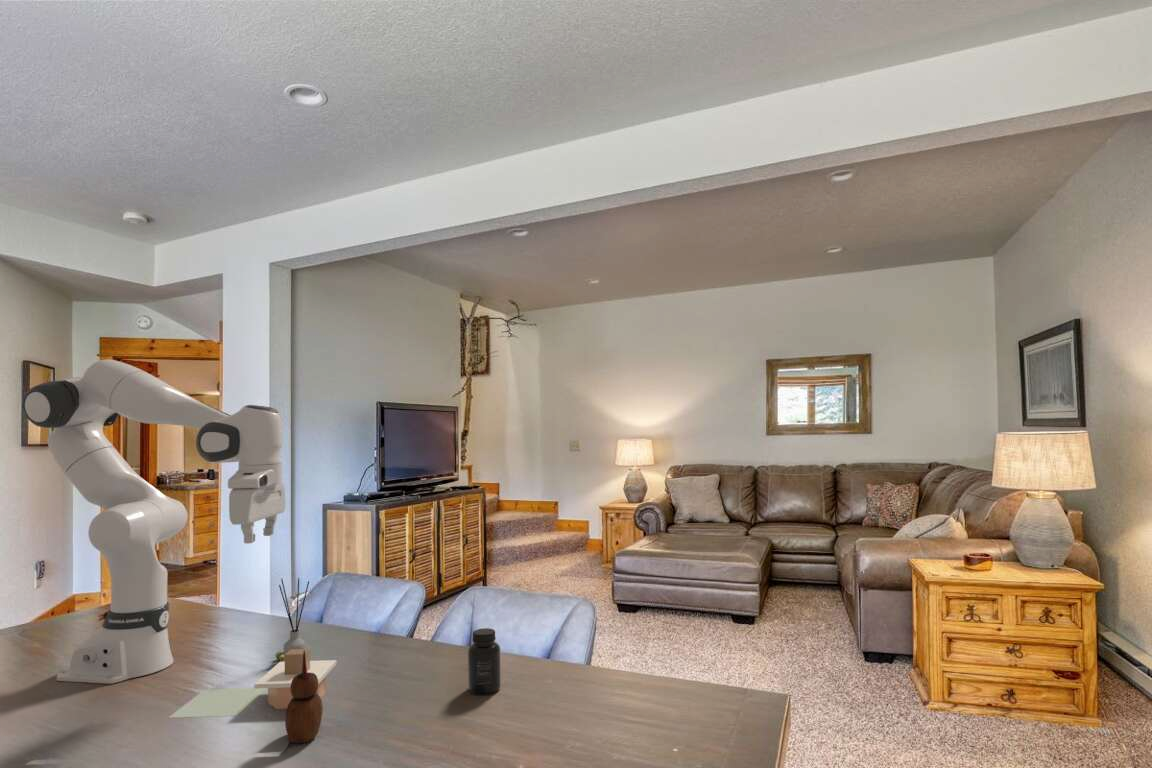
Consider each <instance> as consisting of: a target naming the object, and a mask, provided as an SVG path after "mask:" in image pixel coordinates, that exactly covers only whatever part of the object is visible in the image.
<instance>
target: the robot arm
mask: <svg viewBox="0 0 1152 768" xmlns="http://www.w3.org/2000/svg"><path fill="white" fill-rule="evenodd" d="M22 403H23V404H22V406H23V412H24V414H25V416H26V418H27V419H28V421H30V422H31V424H33V425H34V426H36V427H40V428H46V429H53V430H52V431H51V432H50V434H49V435H48V437H47V445H48V447H49V450H50V452H51V454H52V456H53V458H54V461H55V462H56V463H57V465H58V467H59V468H60V469H61V471H62V472H63V473H64V475H65V477H67V478H68V480H69V481H70V482H71V484H73V486H74V487H75V488H76V490H78V492H79V494H80V495H81V496H82V497H83V499H85V500H86V501H87V502H88V503H90V504H92V505H95V506H98V507H100V508H102V509H104V510H103V511H102V512H100V513H98V514H97V515H95V517H94V518H92V520H91V522H90V523H89V527H88V534H87V535H88V539H89V542H90V544H91V545H92V547H94V548H95V549H96V550H97V551H99V552H100V553H101V554H102V555H103V557H104V559H105V561H106V564H107V567H108V571H109V577H110V609H109V610H107V611H105V612H104V613H103V614H100V615H98V616H97V617H98V619H97V622H100V621H102V620H103V623H102V624H101V627H100V628H99V629H97V630H95V632H93V633H92V634H91V635H90V636H88V637H87V638H85V639H84V640H83V641H82V642H80V643H79V644H77V646H76V647H75V648H74V650H73V653H72V655H71V658H70V662H69V663H70V664H69V666H67V667H65V668H63V669H62V670H61V671H60V672H58V673H57V676H56V681H59V682H74V683H75V682H76V683H90V684H91V683H93V684H94V683H95V684H110V685H111V684H115V683H119V682H122V681H125V680H130V679H132V678H138V677H142V676H146V675H151V674H154V673H156V672H159V671H162V670H164V669H167V668H168V667H169V666H171V665H172V664H173V663H174V658H173V655H172V654H173V653H172V650H171V647H170V641H169V640H170V639H169V632H168V630H169V629H168V627H169V620H170V604H169V602H168V580H169V579H168V575H169V574H168V569H167V568H166V567H165V566H164V565H163V564H161V563H160V561H159V559H158V555H157V552H156V545H157V544H159V543H163V542H167V541H168V540H170V539H171V538H173V537H175V536H176V535H178V534H179V533H180V532H182V530H184V528H185V527H186V525H187V522H188V511H187V508H186V507H185V505H184V504H183V503H182V502H181V501H179V500H177V499H175V498H172V497H170V496H168V495H166V494H164V493H162V492H161V491H160V490H159V489H157V488H156V487H155V486H153V485H152V484H150V483H149V482H148V481H146V480H145V479H144V478H143V477H141V476H140V475H139V474H138V473H137V472H136V471H135V470H134V469H133V468H132V467H131V466H130V464H129V463H128V462H127V461H126V460H125V458H124V457H123V456H122V455H121V454H120V452H119V451H118V449H116V447H115V446H114V445H113V444H112V442H110V441H109V439H108V438H107V437H106V436H105V433H104V427H108V426H113V424H115V423H116V422H117V419H118V417H120V416H122V417H124V418H126V419H128V420H129V419H130V420H132V421H136V422H139V423H143V424H149V425H171V426H172V425H173V426H181V427H182V426H183V427H187V428H192V429H194V430H197V431H198V433H197V436H196V440H195V446H196V450H197V453H198V454H199V457H201V458H202V459H203V460H204V461H207V462H209V463H214V464H215V463H216V464H223V463H224V464H225V463H237V462H238V470H236V471H235V473H234V474H233V475H231V476H230V478H228V480H227V488H228V489H229V490H230V492H229V495H228V499H229V500H228V509H229V510H228V512H229V521H230V522H231V524H232V525H235V526H237V525H240V529H241V532H242V535H243V543H244V544H246V545H247V544H252V543H255V541H256V533H254V529H253V528H254V527H255V525H254V524H255V522H259V521H261V520H265V523H264V524H265V525H264V528H263V530H262V531H263V536H264V537H270V536H272V535H274V534H275V532H274V531H275V525H276V522H277V518H278V517H277V516H278V515H279V514H281V513H284V512H285V509H286V489H285V485H284V483H283V482H282V480H283V477H282V476H283V472H282V470H283V462H282V461H283V460H282V458H281V449H282V445H283V425H282V418H281V414H280V412H279V411H278V410H277V409H275V408H273V407H270V406H265V405H256V404H247V405H245V406H242V408H240V409H239V411H237V412H236V413H233V414H229V413H227V412H224V411H222V410H220V409H217V408H215V407H214V406H210V405H209V404H206V403H204V402H202V401H200V400H199V399H195V398H194V397H192V396H190V395H189V394H186V392H185V393H184V392H182V391H181V390H179V389H177V388H175V387H173V386H172V385H170V384H168V383H167V382H165V381H164V380H161V379H160V378H157V377H156V376H154V375H153V374H150V373H149V372H147V371H145V370H143V369H141V368H138V367H136V366H133V365H132V364H128V363H125V362H122V361H118V360H115V359H110V358H109V359H101V360H97V361H96V362H94V363H92V364H91V365H89V366H88V367H87V368H86V369H85V371H84V374H83V376H78V377H72V378H66V379H61V380H51V381H50V380H49V381H45V382H43V383H40V384H37V385H34V386H33V387H31V388H30V389H28V390H27V391H26V393H25V395H24V397H23V401H22Z"/></svg>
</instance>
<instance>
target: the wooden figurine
mask: <svg viewBox="0 0 1152 768" xmlns="http://www.w3.org/2000/svg"><path fill="white" fill-rule="evenodd" d="M317 689H318V678H317V676H316V675H315V674H314V673H309V672H308V673H307V669H306V657H305V650H304V652H303V665H302V673H301V674H299V675H297V676H295V677H294V678H293V680H292V682H291V694H292V696H293V698H292V699H291V701H290V702H289V704H288V706H287V709H285V710H286V713H285V723H284V725H285V730H286V733H287V736H288V739H289V740H290V741H291V742H292V743H294V744H303V743H307V742H310V741H312V740H313V739H315V737H317V735H318V733H319V731H320V727H321V725H322V719H323V718H322V717H323V710H324V709H323V708H324V707H323V701H322V697H321V698H320V696H319V695H318V694H317V693H316V691H317Z"/></svg>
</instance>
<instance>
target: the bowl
mask: <svg viewBox="0 0 1152 768" xmlns="http://www.w3.org/2000/svg"><path fill="white" fill-rule="evenodd" d="M326 677H327V675H326V676H325V678H324V679H323V680H322V681H321V682H320V683H319V684H318V689H317V691H316V693H317V694H318V695H319V696H320V698H321V699H322V698H323V696H324V695H325V694H326V679H327V678H326ZM292 698H293V696H292V694H291V687H287V688H267V704H269V705H270V706H271V707H273V708H275V709H276V710H283V709H284V710H287V706H288V704H289V702H290V701H291V699H292Z"/></svg>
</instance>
